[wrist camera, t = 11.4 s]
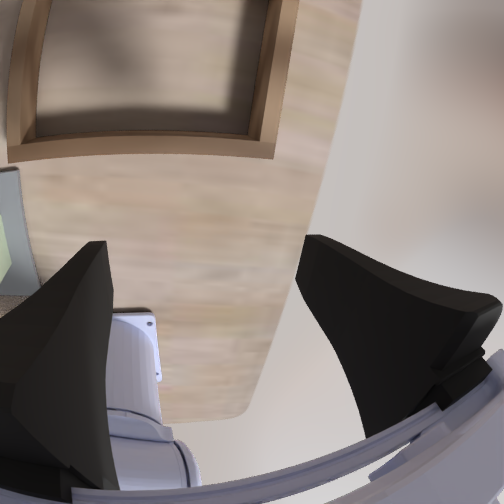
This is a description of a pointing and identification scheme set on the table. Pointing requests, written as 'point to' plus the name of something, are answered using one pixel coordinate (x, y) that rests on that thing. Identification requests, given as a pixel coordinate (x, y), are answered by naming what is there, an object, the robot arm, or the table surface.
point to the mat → (16, 239)
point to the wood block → (3, 253)
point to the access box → (146, 141)
